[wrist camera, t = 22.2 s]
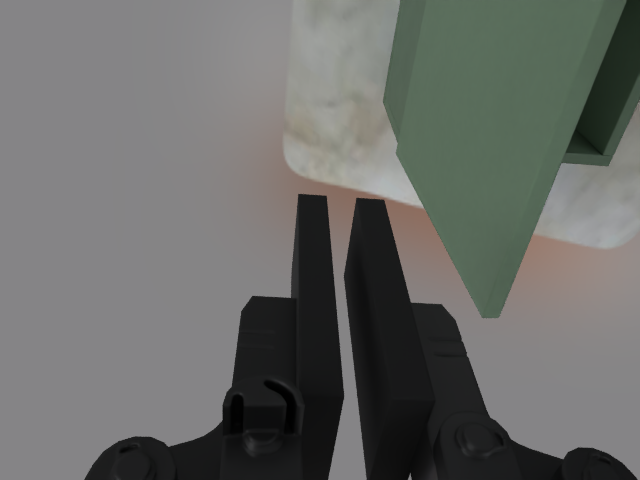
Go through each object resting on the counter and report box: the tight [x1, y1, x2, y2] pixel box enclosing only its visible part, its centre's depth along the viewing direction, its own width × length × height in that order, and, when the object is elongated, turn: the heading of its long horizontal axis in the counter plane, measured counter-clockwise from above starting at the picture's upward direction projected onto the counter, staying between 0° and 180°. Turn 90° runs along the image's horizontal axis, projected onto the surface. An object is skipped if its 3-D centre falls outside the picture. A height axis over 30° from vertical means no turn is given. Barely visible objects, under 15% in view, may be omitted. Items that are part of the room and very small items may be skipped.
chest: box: [383, 0, 640, 166], centre depth 36 cm, size 15×13×9 cm
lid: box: [396, 0, 627, 318], centre depth 25 cm, size 15×13×1 cm
